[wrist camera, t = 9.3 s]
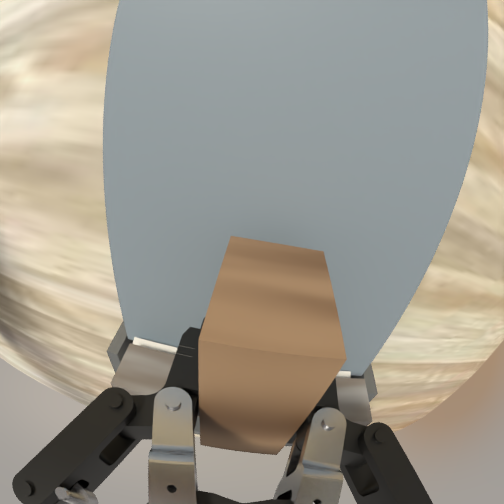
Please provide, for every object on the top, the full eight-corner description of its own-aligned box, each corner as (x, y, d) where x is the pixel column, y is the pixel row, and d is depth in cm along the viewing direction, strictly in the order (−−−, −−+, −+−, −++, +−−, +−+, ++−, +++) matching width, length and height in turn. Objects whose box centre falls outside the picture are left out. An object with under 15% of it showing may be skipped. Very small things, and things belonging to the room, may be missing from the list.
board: (162, -54, 6) (143, -72, 4) (461, 7, 6) (486, 0, 4) (140, 314, 19) (128, 338, 17) (356, 349, 19) (361, 375, 17)
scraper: (106, 216, 10) (30, 290, 6) (432, 271, 10) (482, 357, 6) (133, 355, 15) (104, 422, 11) (356, 388, 15) (366, 459, 11)
